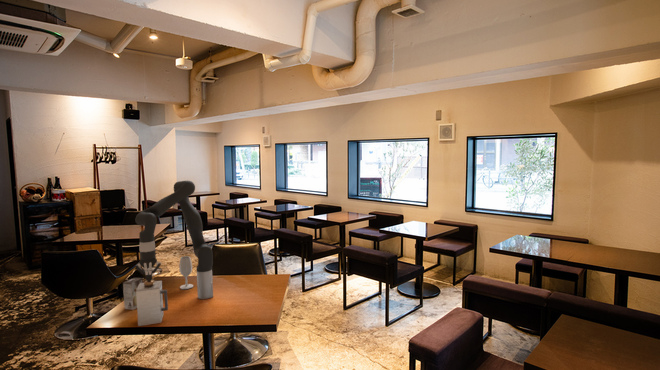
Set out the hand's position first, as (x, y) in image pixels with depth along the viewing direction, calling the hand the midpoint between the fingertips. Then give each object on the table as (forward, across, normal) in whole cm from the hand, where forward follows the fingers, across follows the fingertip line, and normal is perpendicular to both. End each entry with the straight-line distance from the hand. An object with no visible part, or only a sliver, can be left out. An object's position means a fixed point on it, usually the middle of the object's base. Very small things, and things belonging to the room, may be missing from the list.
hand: (149, 281), depth 191 cm
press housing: (+22, -1, 0) cm, 22 cm away
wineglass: (+22, -16, -46) cm, 53 cm away
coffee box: (+22, +12, -24) cm, 35 cm away
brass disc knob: (+20, 0, 0) cm, 20 cm away
